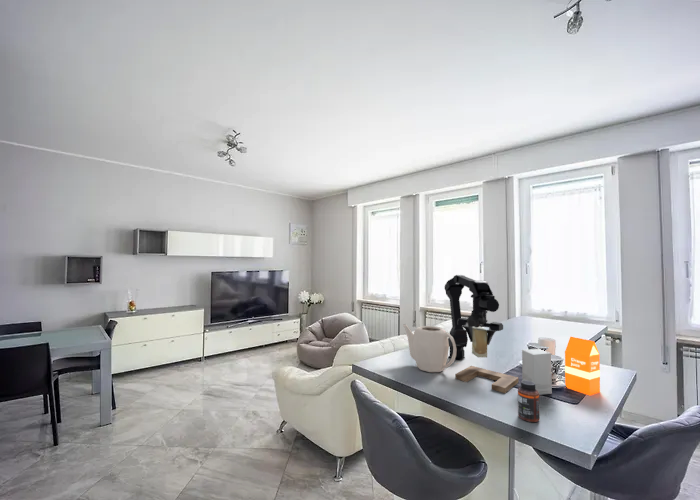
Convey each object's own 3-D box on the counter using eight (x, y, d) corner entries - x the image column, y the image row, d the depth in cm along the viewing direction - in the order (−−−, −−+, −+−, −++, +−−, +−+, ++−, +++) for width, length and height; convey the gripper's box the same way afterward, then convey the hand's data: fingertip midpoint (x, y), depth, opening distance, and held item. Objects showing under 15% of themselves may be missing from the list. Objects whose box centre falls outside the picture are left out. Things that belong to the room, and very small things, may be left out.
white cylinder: (550, 369, 146) (550, 337, 147) (558, 375, 140) (558, 341, 140) (535, 369, 147) (535, 337, 148) (543, 374, 140) (542, 340, 141)
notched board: (455, 378, 132) (455, 374, 132) (471, 370, 144) (471, 365, 144) (505, 393, 118) (505, 388, 118) (518, 382, 130) (518, 377, 130)
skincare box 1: (471, 353, 144) (471, 327, 144) (480, 353, 144) (480, 326, 145) (478, 357, 137) (478, 329, 138) (488, 357, 138) (487, 329, 138)
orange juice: (589, 395, 118) (589, 342, 119) (564, 387, 126) (564, 337, 126) (600, 392, 121) (599, 340, 122) (575, 384, 129) (575, 335, 130)
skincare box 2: (539, 387, 124) (539, 348, 125) (553, 394, 118) (553, 353, 119) (521, 388, 123) (521, 349, 124) (533, 395, 117) (533, 353, 117)
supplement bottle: (537, 415, 101) (536, 380, 102) (541, 424, 95) (541, 387, 96) (516, 412, 103) (516, 377, 104) (519, 421, 97) (519, 384, 98)
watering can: (410, 358, 160) (410, 321, 160) (462, 370, 143) (462, 329, 144) (394, 366, 147) (394, 325, 148) (449, 380, 131) (449, 334, 131)
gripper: (451, 307, 142) (451, 342, 142) (494, 312, 129) (494, 350, 129) (462, 305, 150) (462, 338, 150) (503, 310, 137) (503, 346, 137)
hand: (479, 343), depth 141 cm, fingers closed on skincare box 1, 7 cm apart
